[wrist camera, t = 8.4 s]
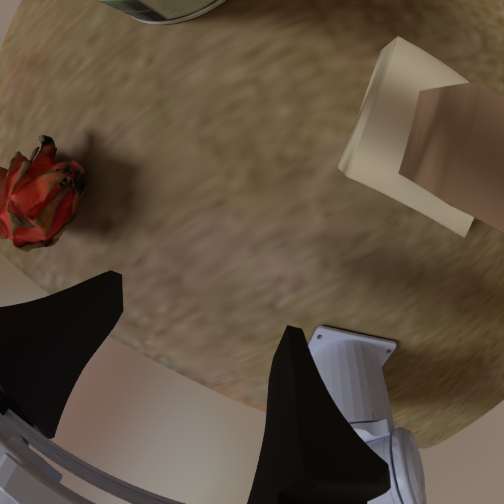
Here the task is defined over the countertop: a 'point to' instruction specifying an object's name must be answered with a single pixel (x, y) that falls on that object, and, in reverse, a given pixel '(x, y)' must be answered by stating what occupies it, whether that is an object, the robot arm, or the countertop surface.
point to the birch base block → (398, 129)
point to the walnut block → (459, 149)
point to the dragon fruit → (38, 197)
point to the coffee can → (164, 9)
